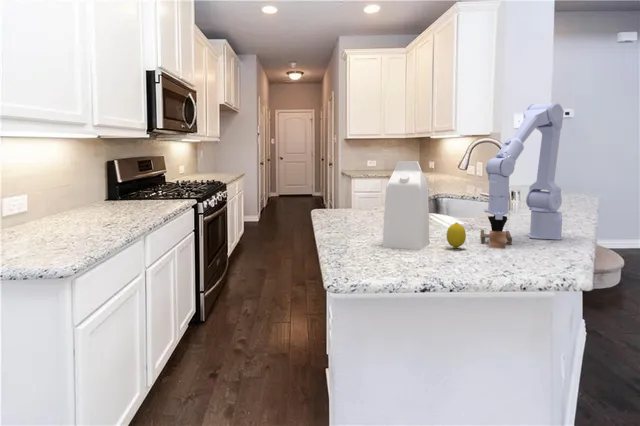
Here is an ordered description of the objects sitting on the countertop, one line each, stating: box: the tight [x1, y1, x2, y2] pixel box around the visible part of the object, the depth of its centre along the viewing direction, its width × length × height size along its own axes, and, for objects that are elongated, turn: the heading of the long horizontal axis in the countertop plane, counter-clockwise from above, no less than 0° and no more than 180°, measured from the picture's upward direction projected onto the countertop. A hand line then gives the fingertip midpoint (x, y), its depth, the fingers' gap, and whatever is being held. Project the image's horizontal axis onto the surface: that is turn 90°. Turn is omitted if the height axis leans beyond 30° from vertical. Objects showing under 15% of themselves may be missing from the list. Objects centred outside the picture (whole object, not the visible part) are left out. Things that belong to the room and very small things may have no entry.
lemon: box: [446, 222, 467, 250], centre depth 144 cm, size 6×6×8 cm
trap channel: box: [480, 229, 513, 246], centre depth 159 cm, size 9×16×2 cm, turn 163°
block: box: [488, 230, 507, 249], centre depth 148 cm, size 4×4×4 cm
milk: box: [381, 160, 430, 251], centre depth 149 cm, size 12×12×26 cm
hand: (496, 239), depth 152 cm, fingers closed
